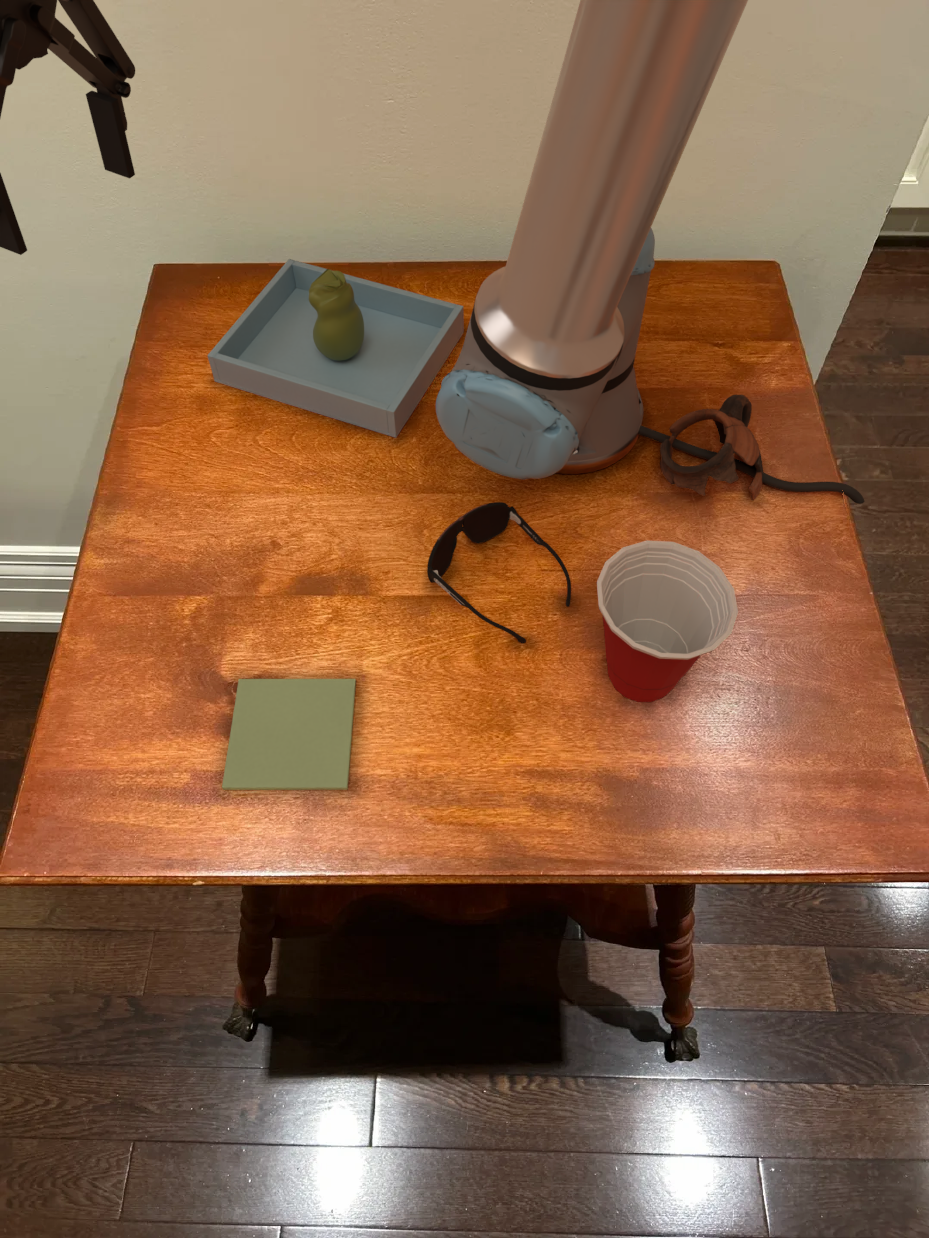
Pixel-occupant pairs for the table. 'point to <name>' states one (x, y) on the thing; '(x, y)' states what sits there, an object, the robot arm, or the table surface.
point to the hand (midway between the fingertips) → (68, 209)
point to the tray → (348, 389)
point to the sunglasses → (479, 529)
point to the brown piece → (722, 465)
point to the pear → (336, 316)
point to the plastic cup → (661, 615)
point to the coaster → (291, 735)
